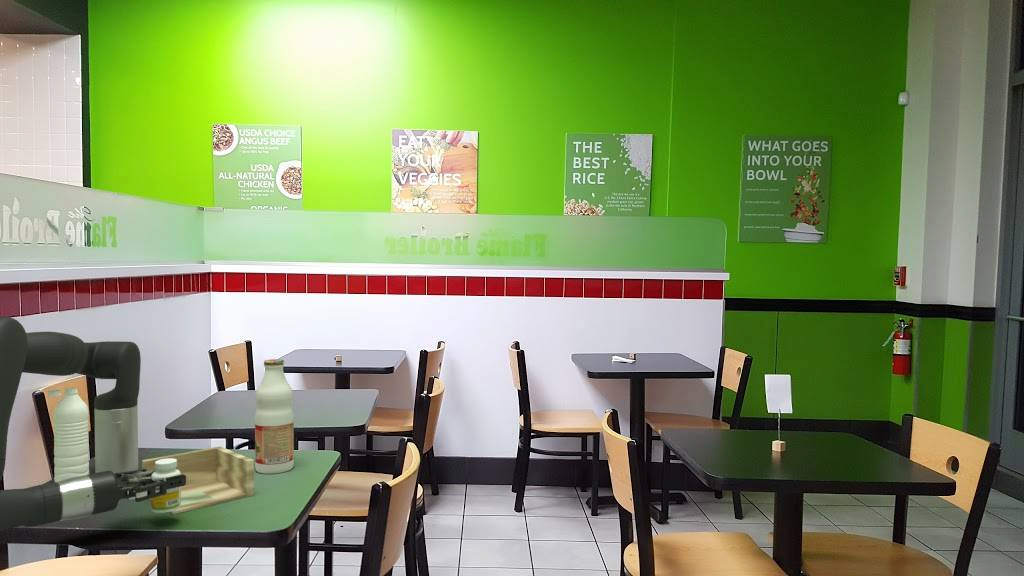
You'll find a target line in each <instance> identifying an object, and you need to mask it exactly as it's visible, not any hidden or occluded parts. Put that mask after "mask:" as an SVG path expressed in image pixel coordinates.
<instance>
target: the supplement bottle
mask: <svg viewBox="0 0 1024 576" xmlns="http://www.w3.org/2000/svg"><path fill="white" fill-rule="evenodd" d="M176 467H177V460H176V459H173V458H167V459H161V460H158V461H156V462H155V470H156V471H155V472H154V473H153V474H152V475H151V477H153V478H154V479H158V478H166V477H171V476H176V475H181V473H180V471H179V470H177V469H176ZM156 488H160V486H157V487H156ZM156 488H155V489H156ZM180 506H181V486H180V487H176V488H171V489H167V494H165V495H161V496H158V497H154V498H151V501H150V508H151V509H150V510H151V511H152V512H154V513H156V514H162V513H163V514H164V513H170V512H171V511H175V510H177V509H179V508H180Z"/></svg>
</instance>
